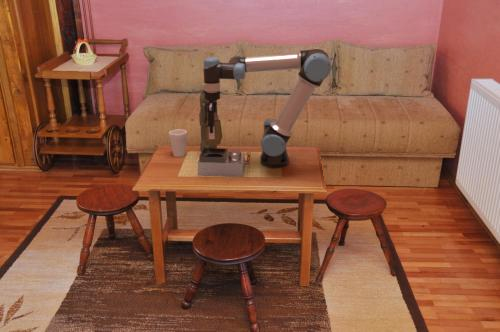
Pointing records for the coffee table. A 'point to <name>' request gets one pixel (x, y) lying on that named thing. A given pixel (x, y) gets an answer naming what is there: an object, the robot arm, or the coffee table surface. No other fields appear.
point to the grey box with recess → (221, 162)
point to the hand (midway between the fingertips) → (213, 135)
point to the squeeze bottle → (217, 132)
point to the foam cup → (178, 142)
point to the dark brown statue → (204, 122)
